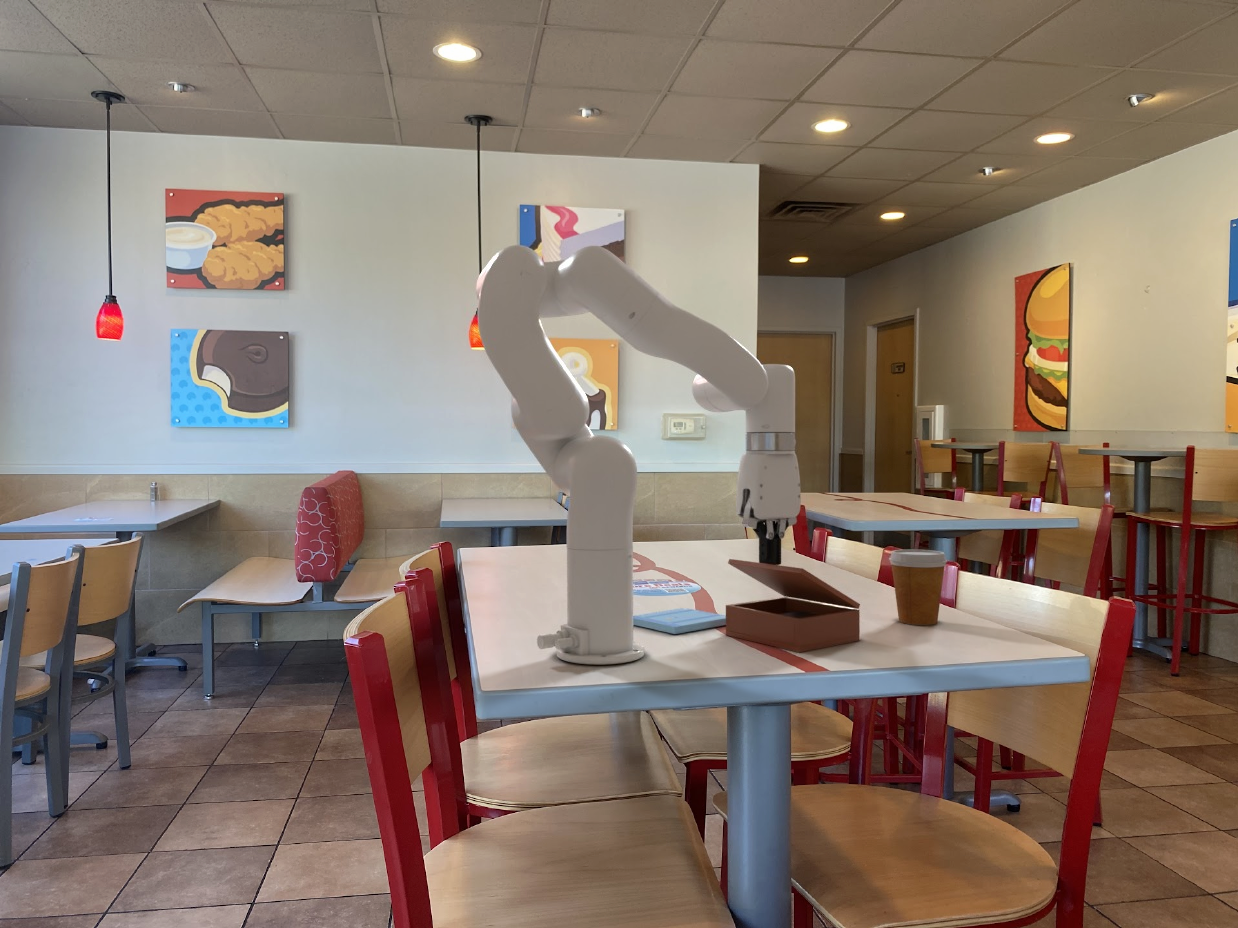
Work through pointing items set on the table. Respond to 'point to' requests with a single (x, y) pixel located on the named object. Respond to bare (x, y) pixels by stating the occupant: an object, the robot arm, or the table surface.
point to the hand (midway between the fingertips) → (770, 563)
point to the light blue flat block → (679, 620)
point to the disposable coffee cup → (918, 584)
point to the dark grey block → (798, 614)
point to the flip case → (793, 623)
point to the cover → (794, 583)
